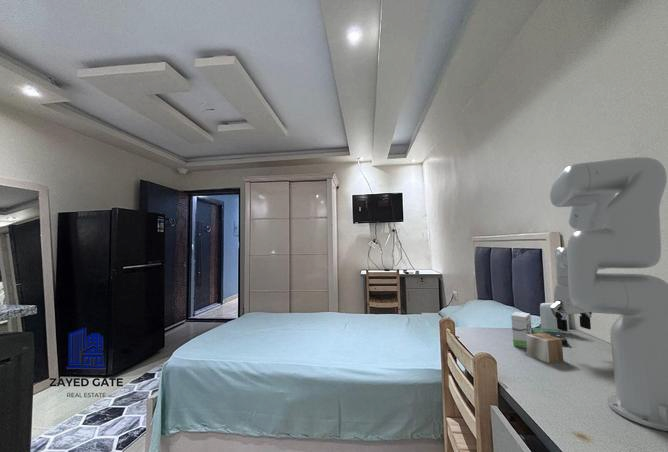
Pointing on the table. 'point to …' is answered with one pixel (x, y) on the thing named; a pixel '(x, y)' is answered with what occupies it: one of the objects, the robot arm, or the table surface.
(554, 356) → the block
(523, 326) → the ink box
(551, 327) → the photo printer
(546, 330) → the disk drive
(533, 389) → the table surface
